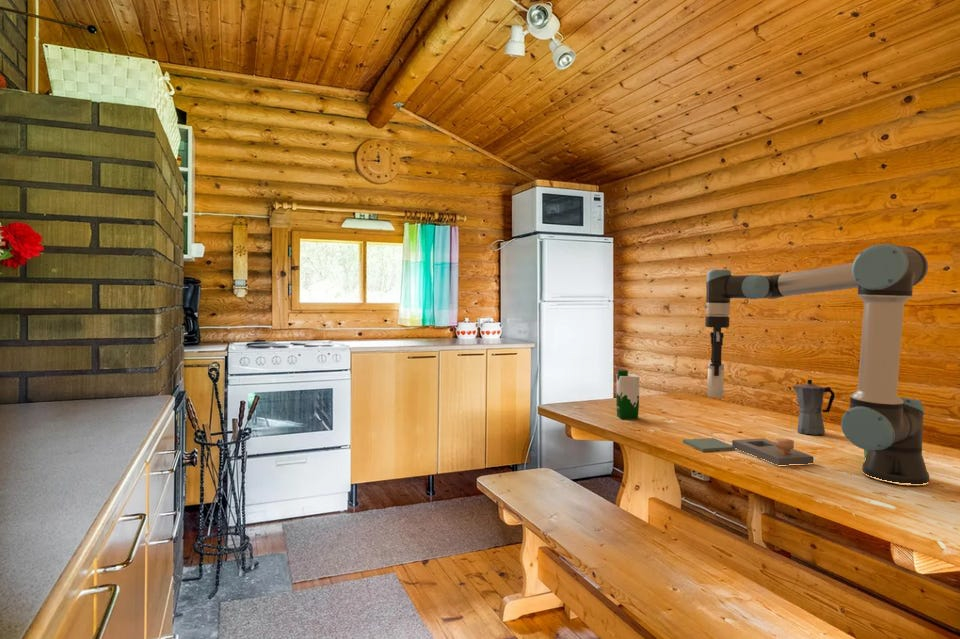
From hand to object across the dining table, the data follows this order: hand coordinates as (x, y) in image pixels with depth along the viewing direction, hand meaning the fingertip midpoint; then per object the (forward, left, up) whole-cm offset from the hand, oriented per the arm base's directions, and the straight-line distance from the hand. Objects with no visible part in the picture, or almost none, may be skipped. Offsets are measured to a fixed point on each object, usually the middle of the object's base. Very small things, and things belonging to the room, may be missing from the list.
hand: (715, 383), depth 189 cm
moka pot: (+10, -47, -22) cm, 53 cm away
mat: (+1, +2, -21) cm, 22 cm away
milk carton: (+48, +9, -22) cm, 53 cm away
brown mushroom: (-19, -11, -21) cm, 31 cm away
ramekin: (-25, -40, -22) cm, 52 cm away
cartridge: (0, 0, -4) cm, 4 cm away
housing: (-13, -11, -21) cm, 28 cm away
